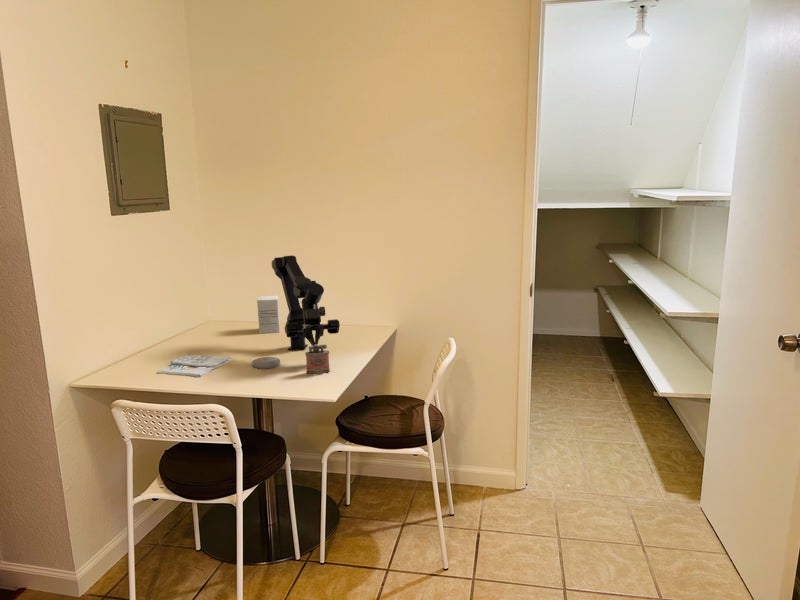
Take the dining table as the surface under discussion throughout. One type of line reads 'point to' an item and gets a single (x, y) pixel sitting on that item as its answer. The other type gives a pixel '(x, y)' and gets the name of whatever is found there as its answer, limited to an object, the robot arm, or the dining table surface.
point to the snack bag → (195, 361)
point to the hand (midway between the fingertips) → (315, 348)
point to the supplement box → (268, 314)
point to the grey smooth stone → (266, 363)
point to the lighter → (317, 360)
